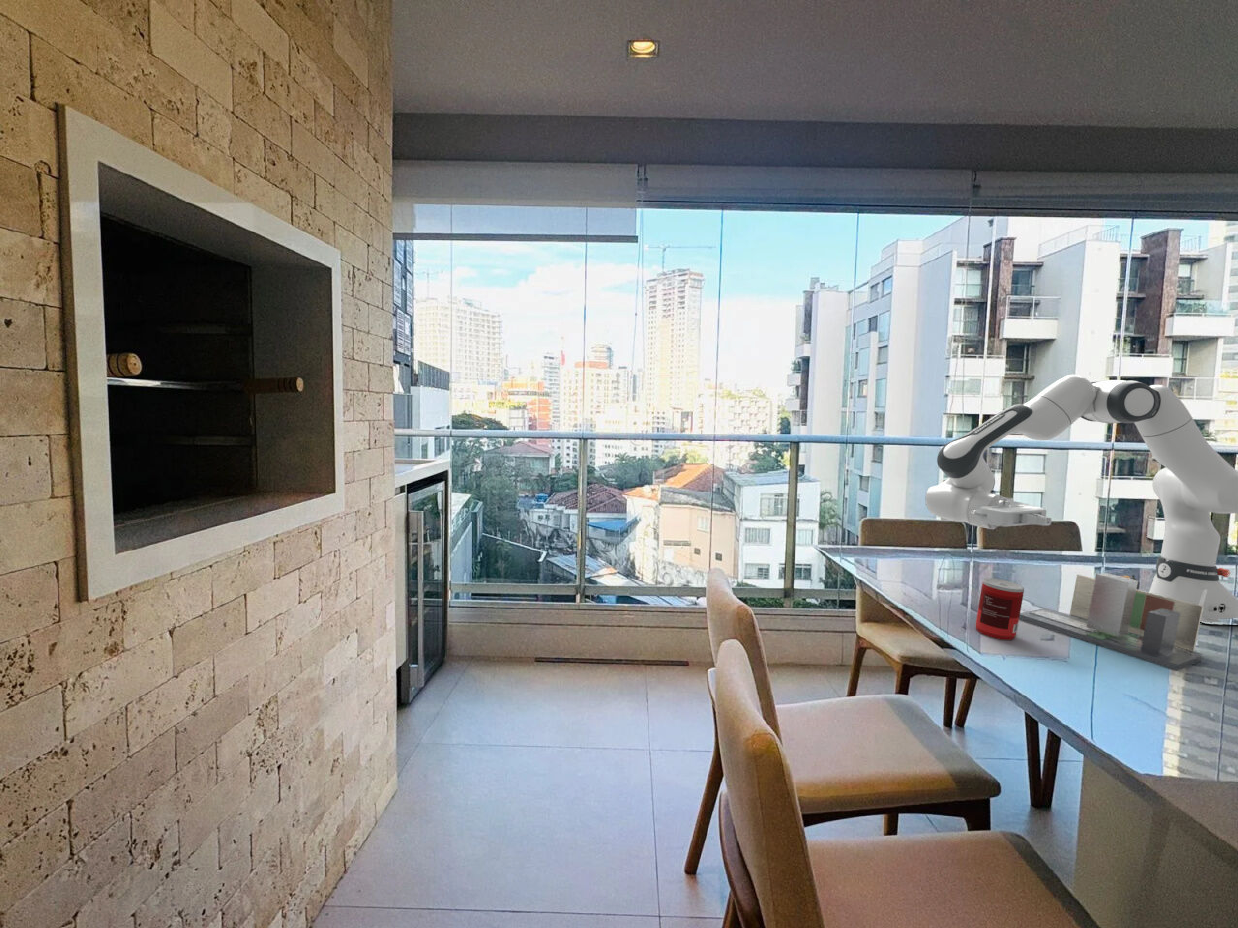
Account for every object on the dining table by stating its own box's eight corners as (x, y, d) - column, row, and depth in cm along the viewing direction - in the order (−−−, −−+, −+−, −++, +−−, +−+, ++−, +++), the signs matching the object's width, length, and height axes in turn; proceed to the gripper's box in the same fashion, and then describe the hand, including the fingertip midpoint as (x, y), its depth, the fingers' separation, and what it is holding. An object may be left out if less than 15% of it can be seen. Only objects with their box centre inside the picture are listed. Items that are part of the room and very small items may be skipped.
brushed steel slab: (1086, 627, 146) (1096, 574, 145) (1102, 623, 151) (1112, 571, 150) (1118, 636, 141) (1128, 582, 140) (1134, 632, 146) (1144, 579, 145)
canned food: (1004, 629, 144) (1013, 580, 143) (1023, 642, 137) (1032, 591, 135) (968, 624, 145) (976, 576, 144) (984, 637, 137) (993, 586, 136)
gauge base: (1016, 618, 154) (1023, 576, 153) (1058, 609, 166) (1065, 571, 165) (1176, 670, 129) (1186, 621, 128) (1212, 656, 141) (1221, 610, 140)
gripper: (968, 499, 161) (1028, 510, 150) (1010, 497, 172) (1069, 507, 161) (964, 524, 162) (1024, 537, 150) (1007, 521, 173) (1066, 532, 162)
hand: (1048, 521), depth 156 cm, fingers closed
